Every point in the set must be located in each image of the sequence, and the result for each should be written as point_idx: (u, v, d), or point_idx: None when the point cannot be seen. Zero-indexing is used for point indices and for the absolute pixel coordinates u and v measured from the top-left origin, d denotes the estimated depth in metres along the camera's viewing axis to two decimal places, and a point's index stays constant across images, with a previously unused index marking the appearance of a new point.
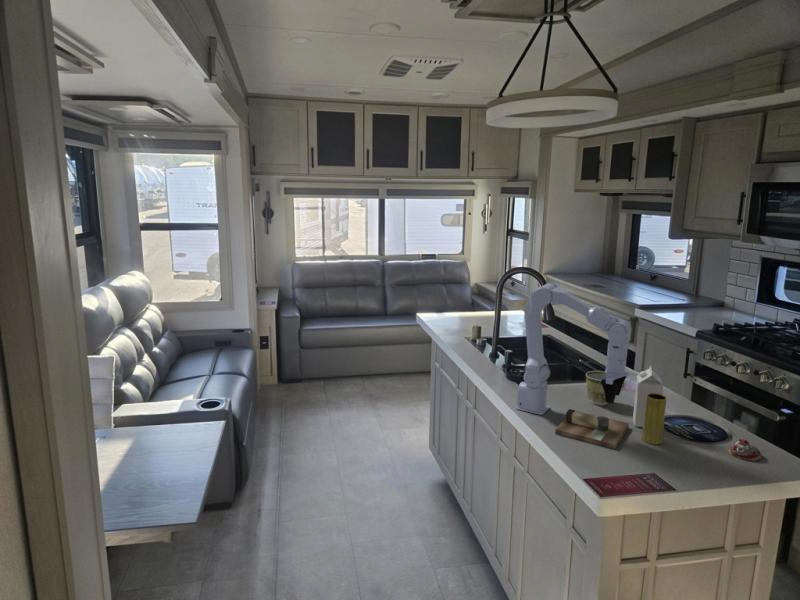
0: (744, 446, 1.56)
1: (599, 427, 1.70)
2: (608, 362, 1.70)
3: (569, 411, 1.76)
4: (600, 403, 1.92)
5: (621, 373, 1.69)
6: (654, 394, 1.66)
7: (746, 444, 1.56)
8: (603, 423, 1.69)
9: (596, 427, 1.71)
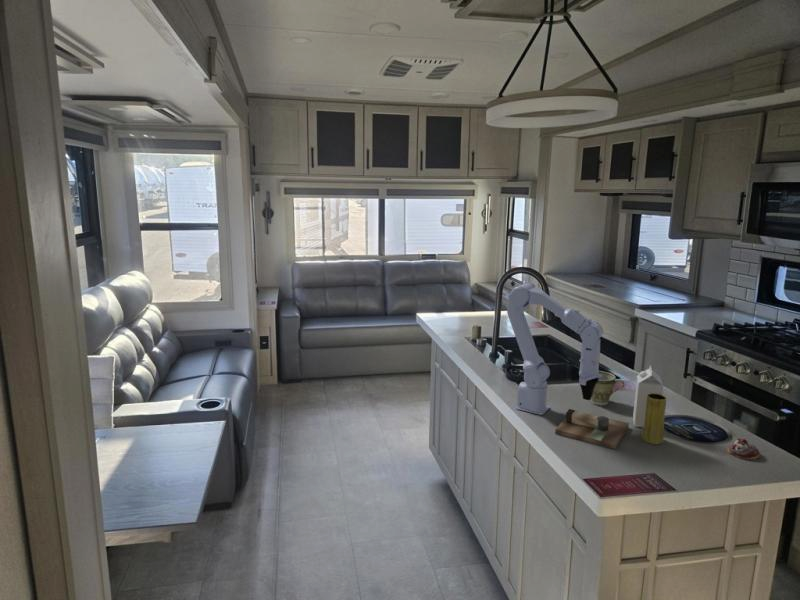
0: (743, 445, 1.56)
1: (599, 427, 1.70)
2: (581, 364, 1.76)
3: (569, 411, 1.76)
4: (600, 403, 1.92)
5: (594, 374, 1.74)
6: (654, 394, 1.66)
7: (745, 443, 1.57)
8: (603, 423, 1.69)
9: (596, 427, 1.71)
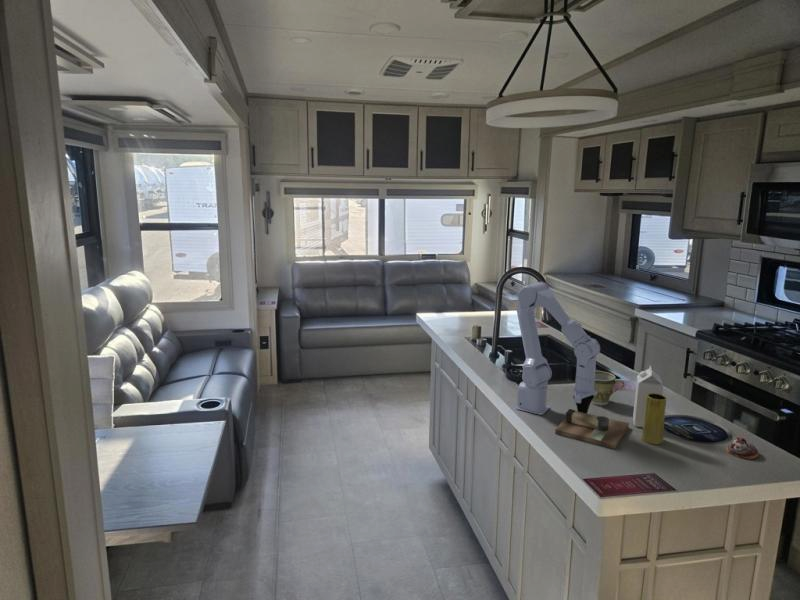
0: (741, 444, 1.57)
1: (599, 427, 1.70)
2: (577, 381, 1.74)
3: (569, 411, 1.76)
4: (600, 403, 1.92)
5: (589, 392, 1.72)
6: (654, 394, 1.66)
7: (744, 442, 1.57)
8: (603, 423, 1.69)
9: (596, 427, 1.71)
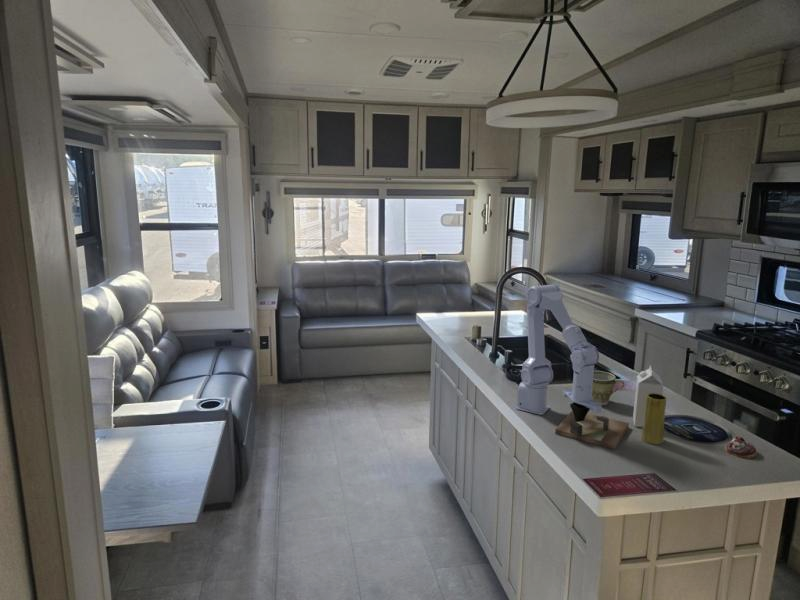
0: (740, 443, 1.57)
1: (605, 428, 1.69)
2: (582, 391, 1.65)
3: (576, 424, 1.67)
4: (600, 403, 1.92)
5: (591, 397, 1.68)
6: (654, 394, 1.66)
7: (742, 441, 1.58)
8: (608, 422, 1.70)
9: (602, 429, 1.69)
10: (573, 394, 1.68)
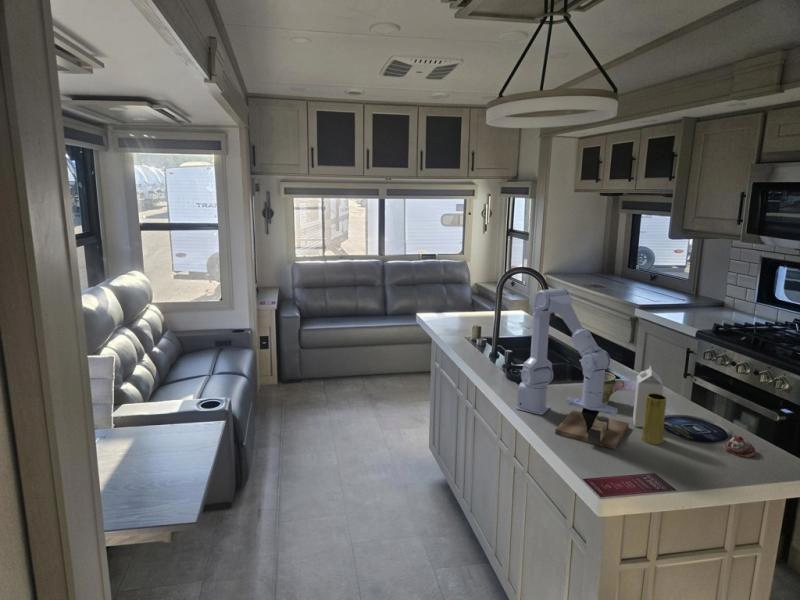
0: (739, 442, 1.58)
1: (607, 427, 1.70)
2: (598, 397, 1.61)
3: (595, 431, 1.62)
4: None
5: None
6: (654, 394, 1.66)
7: (741, 441, 1.58)
8: (608, 421, 1.70)
9: (606, 429, 1.69)
10: (587, 401, 1.62)
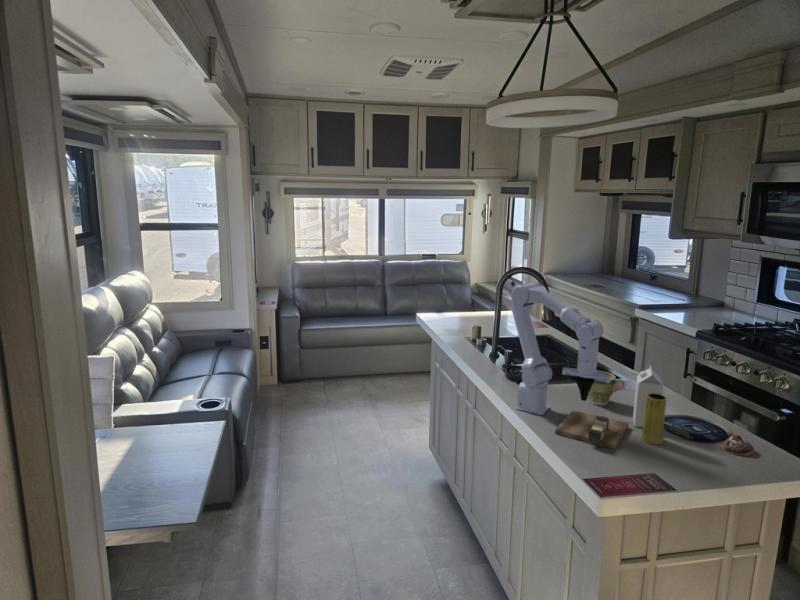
0: (737, 441, 1.59)
1: (607, 427, 1.70)
2: (592, 365, 1.69)
3: (596, 431, 1.62)
4: (600, 403, 1.92)
5: None
6: (654, 394, 1.66)
7: (739, 439, 1.59)
8: None
9: (606, 429, 1.69)
10: (582, 370, 1.70)
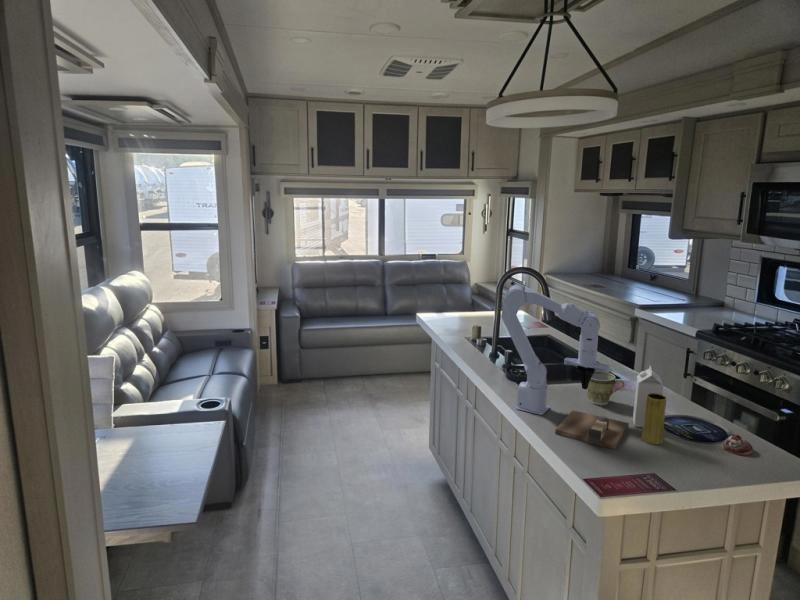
0: (736, 441, 1.59)
1: (607, 427, 1.70)
2: (592, 355, 1.78)
3: (596, 431, 1.62)
4: (600, 403, 1.92)
5: None
6: (654, 394, 1.66)
7: (738, 439, 1.59)
8: None
9: (606, 429, 1.69)
10: (582, 360, 1.79)
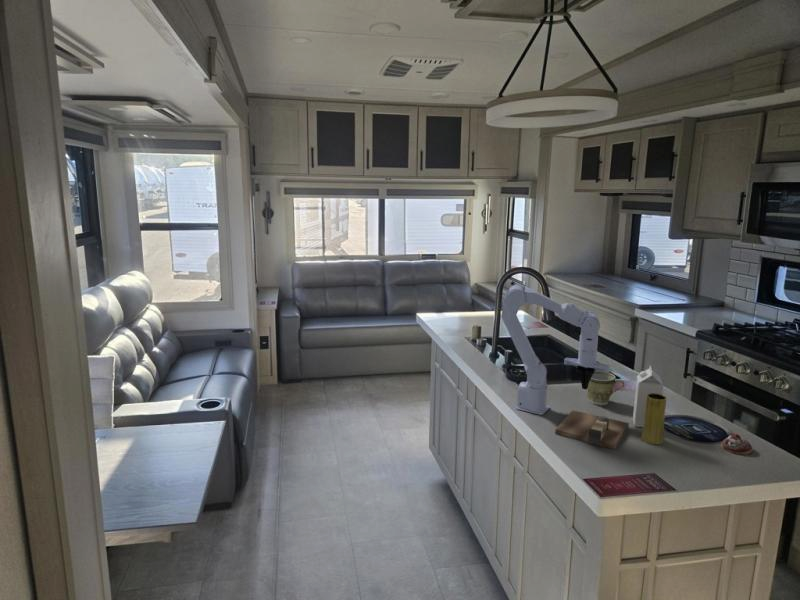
0: (735, 440, 1.59)
1: (607, 427, 1.70)
2: (592, 355, 1.78)
3: (596, 431, 1.62)
4: (600, 403, 1.92)
5: None
6: (654, 394, 1.66)
7: (738, 438, 1.60)
8: None
9: (606, 429, 1.69)
10: (582, 360, 1.79)
